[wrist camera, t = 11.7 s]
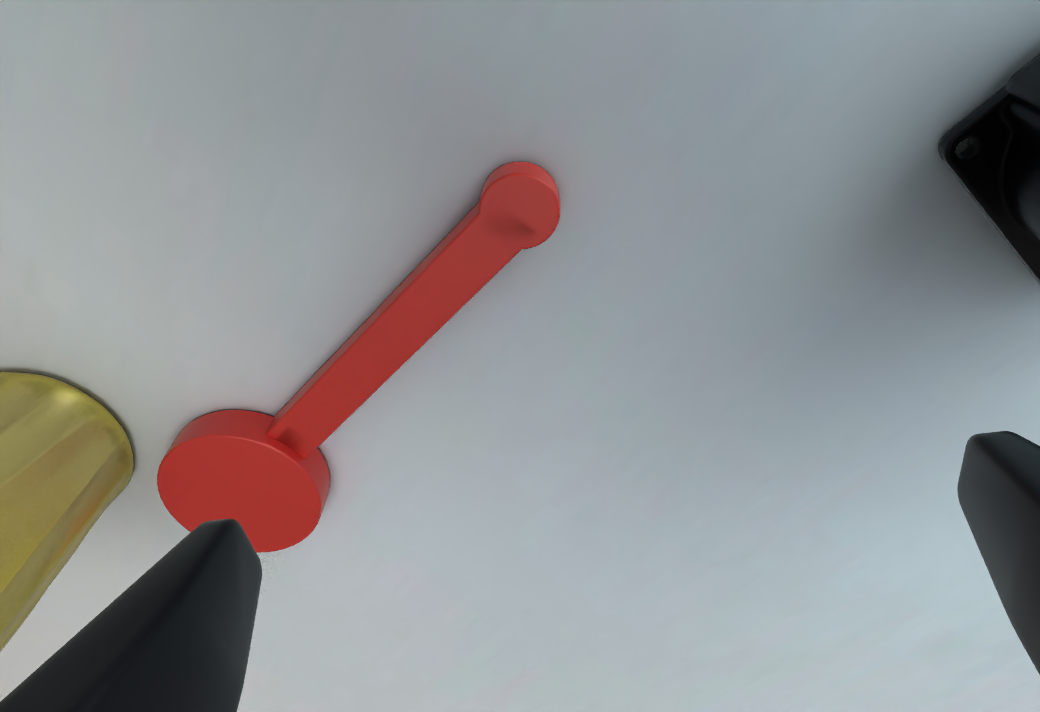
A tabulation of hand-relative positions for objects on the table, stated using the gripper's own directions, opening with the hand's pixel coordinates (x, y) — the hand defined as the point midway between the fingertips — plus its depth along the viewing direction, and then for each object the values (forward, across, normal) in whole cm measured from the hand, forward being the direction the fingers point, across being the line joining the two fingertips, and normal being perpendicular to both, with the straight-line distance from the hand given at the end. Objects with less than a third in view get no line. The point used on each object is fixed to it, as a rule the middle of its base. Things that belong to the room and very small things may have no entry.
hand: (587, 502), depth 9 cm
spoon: (+13, +8, +6) cm, 16 cm away
